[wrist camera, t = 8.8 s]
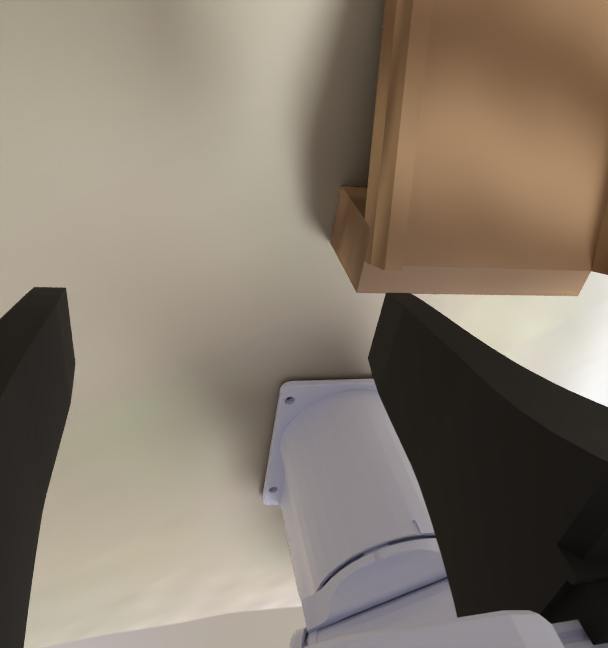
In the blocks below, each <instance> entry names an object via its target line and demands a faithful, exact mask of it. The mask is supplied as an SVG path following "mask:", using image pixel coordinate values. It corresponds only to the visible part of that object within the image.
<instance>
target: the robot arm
mask: <svg viewBox="0 0 608 648" xmlns="http://www.w3.org/2000/svg"><path fill="white" fill-rule="evenodd" d="M368 360H369V364H370V368H371V371H372V375H373V379H343V380H309V381H289V382H286V383H284V384H283V385H282V386H281V388H280V393H279V399H278V405H277V411H276V417H275V423H274V429H273V435H272V441H271V447H270V453H269V459H268V465H267V471H266V477H265V483H264V489H263V495H262V498H263V503H264V504H266V505H281V510H282V515H283V520H284V525H285V530H286V535H287V540H288V545H289V550H290V555H291V560H292V565H293V570H294V575H295V580H296V585H297V589H298V593H299V596H300V599H301V602H302V607H303V612H304V617H305V622H306V627H304V628H302V629H298V630H297V631H295V633H294V634H293V635H292V638H291V641H290V645H289V648H608V407H606V406H604V405H601V404H599V403H596V402H594V401H592V400H589V399H587V398H585V397H583V396H580V395H578V394H576V393H574V392H571V391H569V390H567V389H565V388H563V387H561V386H559V385H556V384H554V383H552V382H550V381H549V380H547V379H545V378H543V377H541V376H539V375H537V374H535V373H533V372H531V371H530V370H528V369H526V368H524V367H522V366H521V365H519V364H517V363H515V362H514V361H512V360H510V359H509V358H507V357H506V356H504V355H502V354H501V353H499V352H497V351H496V350H494V349H493V348H491V347H490V346H488V345H486V344H485V343H483V342H482V341H480V340H479V339H477V338H476V337H474V336H473V335H471V334H470V333H469V332H467V331H466V330H464V329H463V328H461V327H460V326H458V325H457V324H456V323H454V322H453V321H451V320H450V319H448V318H447V317H446V316H444V315H443V314H441V313H440V312H438V311H437V310H436V309H434V308H433V307H431V306H430V305H428V304H427V303H425V302H424V301H422V300H421V299H419V298H417V297H416V296H414V295H412V294H410V293H386V295H385V299H384V302H383V306H382V309H381V313H380V317H379V320H378V324H377V327H376V331H375V335H374V338H373V342H372V345H371V349H370V352H369V356H368ZM74 371H75V357H74V349H73V341H72V333H71V325H70V317H69V309H68V301H67V292H66V288H50V287H34V288H33V289H32V290H30V291H29V292H28V293H27V294H26V295H25V296H24V297H23V298H22V299H21V300H20V301H18V302H17V303H16V304H15V305H14V306H13V307H12V308H11V309H10V310H9V311H8V312H7V313H6V314H5V315H4V316H3V317H2V318H1V319H0V648H24V639H25V631H26V623H27V615H28V607H29V600H30V592H31V585H32V578H33V571H34V563H35V556H36V550H37V543H38V537H39V530H40V524H41V517H42V512H43V507H44V503H45V498H46V494H47V490H48V486H49V482H50V479H51V475H52V471H53V468H54V464H55V460H56V456H57V453H58V449H59V445H60V442H61V438H62V434H63V430H64V427H65V423H66V419H67V415H68V411H69V407H70V403H71V395H72V388H73V379H74ZM288 397H292V398H290V399H286V398H288Z"/></svg>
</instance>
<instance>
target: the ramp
mask: <svg viewBox="0 0 608 648" xmlns="http://www.w3.org/2000/svg"><path fill="white" fill-rule="evenodd" d="M330 243H331V245H332V247H333V249H334V251H335V252H336V254H337V256H338V258H339V260H340V262H341V264H342V266H343V268H344V269H345V271H346V273H347V275H348V277H349V279H350V281H351V283H352V285H353V287H354V288H355V290H356V292H357V293H410V294H474V295H542V296H578V295H579V293H580V291H581V289H582V287H583V285H584V283H585V281H586V279H587V278H588V276H589V274H590V272H591V271H593V272H598V273H602V274H606V275H608V0H385V6H384V17H383V28H382V38H381V49H380V60H379V70H378V81H377V92H376V102H375V113H374V124H373V134H372V145H371V156H370V166H369V177H368V188H366V187H351V186H341V191H340V196H339V201H338V207H337V212H336V217H335V222H334V227H333V232H332V237H331V242H330Z"/></svg>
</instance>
